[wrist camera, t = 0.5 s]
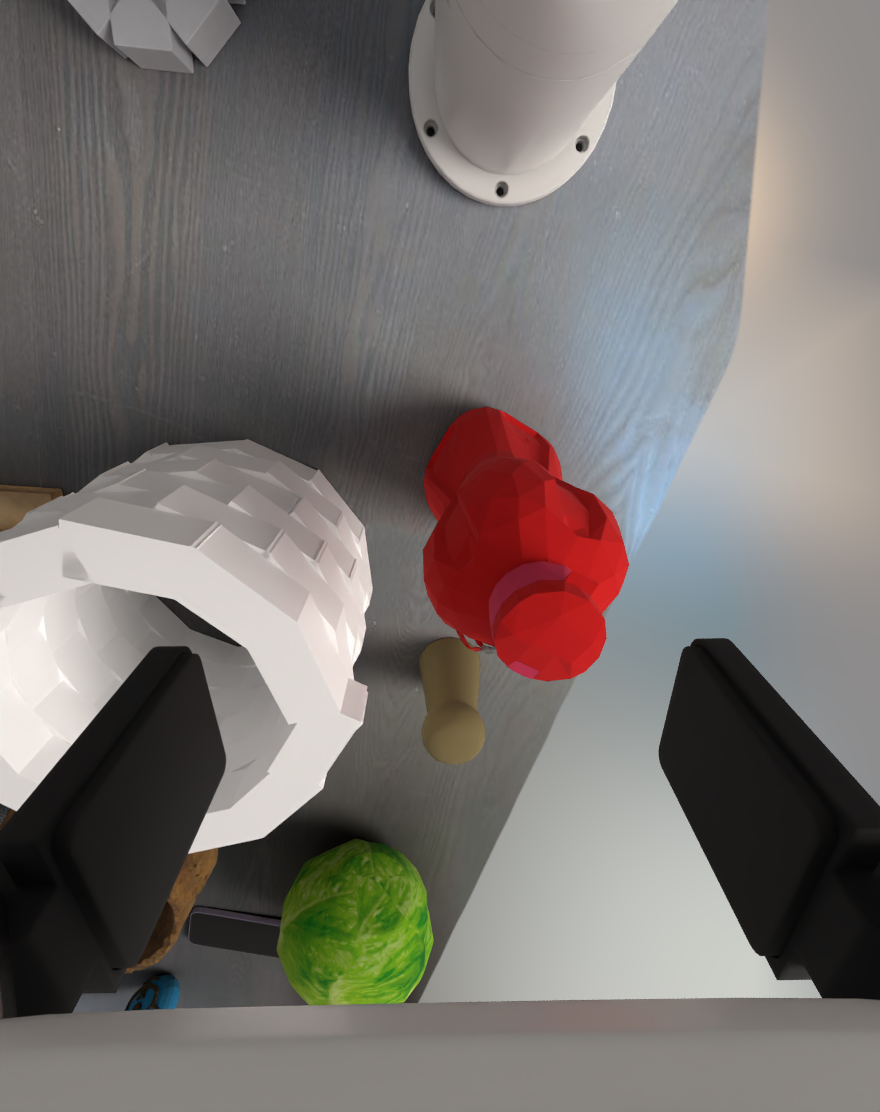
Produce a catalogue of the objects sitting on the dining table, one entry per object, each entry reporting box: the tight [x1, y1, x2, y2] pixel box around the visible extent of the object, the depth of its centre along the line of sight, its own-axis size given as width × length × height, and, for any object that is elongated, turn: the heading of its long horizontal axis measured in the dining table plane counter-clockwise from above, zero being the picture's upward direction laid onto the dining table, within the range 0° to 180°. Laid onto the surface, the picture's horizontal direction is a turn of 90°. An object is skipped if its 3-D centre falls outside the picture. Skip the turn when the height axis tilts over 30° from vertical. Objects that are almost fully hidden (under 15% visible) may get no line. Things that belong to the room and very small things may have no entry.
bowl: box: [0, 808, 218, 973], centre depth 49 cm, size 19×19×15 cm
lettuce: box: [277, 839, 434, 1005], centre depth 57 cm, size 17×20×15 cm
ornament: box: [125, 975, 180, 1011], centre depth 68 cm, size 8×5×10 cm, turn 120°
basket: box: [0, 439, 373, 854], centre depth 37 cm, size 25×24×19 cm
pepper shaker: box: [419, 638, 485, 764], centre depth 45 cm, size 6×6×11 cm
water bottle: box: [423, 407, 629, 681], centre depth 31 cm, size 9×11×25 cm
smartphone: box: [188, 907, 281, 958], centre depth 68 cm, size 7×1×15 cm
